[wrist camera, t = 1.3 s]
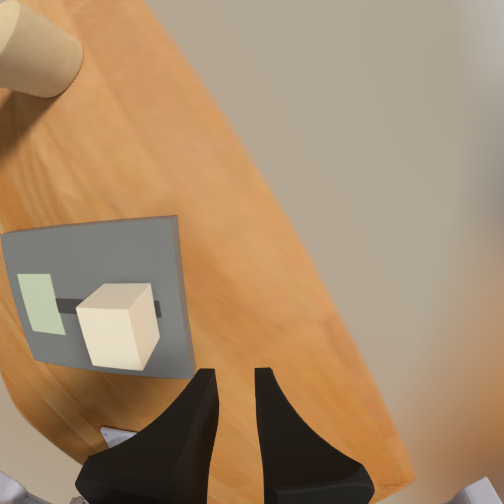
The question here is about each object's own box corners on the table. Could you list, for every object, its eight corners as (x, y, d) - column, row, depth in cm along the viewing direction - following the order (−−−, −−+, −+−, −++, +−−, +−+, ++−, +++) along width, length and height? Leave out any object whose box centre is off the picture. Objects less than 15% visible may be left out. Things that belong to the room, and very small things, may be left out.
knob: (160, 337, 19) (142, 370, 16) (115, 335, 19) (92, 365, 16) (150, 283, 18) (127, 309, 15) (104, 283, 18) (75, 307, 15)
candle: (25, 96, 16) (-60, 79, 7) (48, 38, 15) (-25, 1, 5) (68, 101, 17) (-25, 75, 7) (95, 37, 16) (20, -16, 6)
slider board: (196, 367, 22) (192, 380, 21) (42, 352, 22) (34, 360, 21) (177, 215, 19) (171, 218, 18) (11, 231, 19) (-1, 234, 18)
